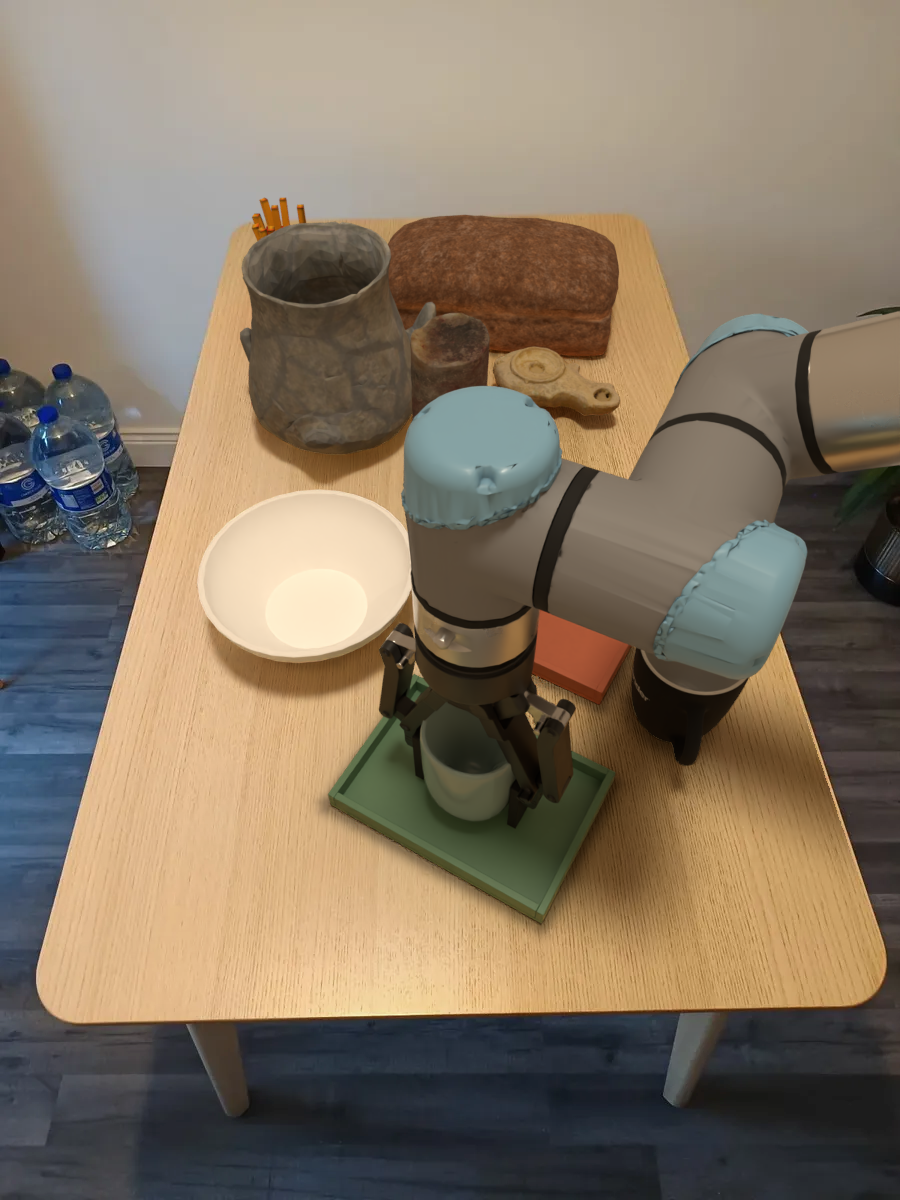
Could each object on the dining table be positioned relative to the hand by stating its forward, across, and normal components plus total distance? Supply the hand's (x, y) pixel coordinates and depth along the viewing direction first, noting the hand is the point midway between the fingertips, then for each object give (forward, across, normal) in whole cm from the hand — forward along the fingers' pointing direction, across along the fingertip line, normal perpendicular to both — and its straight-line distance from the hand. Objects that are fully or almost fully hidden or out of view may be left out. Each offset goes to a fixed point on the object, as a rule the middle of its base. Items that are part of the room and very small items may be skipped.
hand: (472, 788), depth 70 cm
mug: (+1, +12, +14) cm, 18 cm away
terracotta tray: (+1, -3, +21) cm, 21 cm away
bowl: (+1, -22, +9) cm, 24 cm away
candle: (+1, -19, +29) cm, 35 cm away
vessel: (+1, -36, +33) cm, 49 cm away
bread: (+1, -30, +60) cm, 67 cm away
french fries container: (+1, -52, +47) cm, 70 cm away
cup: (0, 0, 0) cm, 0 cm away
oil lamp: (+1, -16, +48) cm, 51 cm away
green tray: (+1, 0, 0) cm, 1 cm away
